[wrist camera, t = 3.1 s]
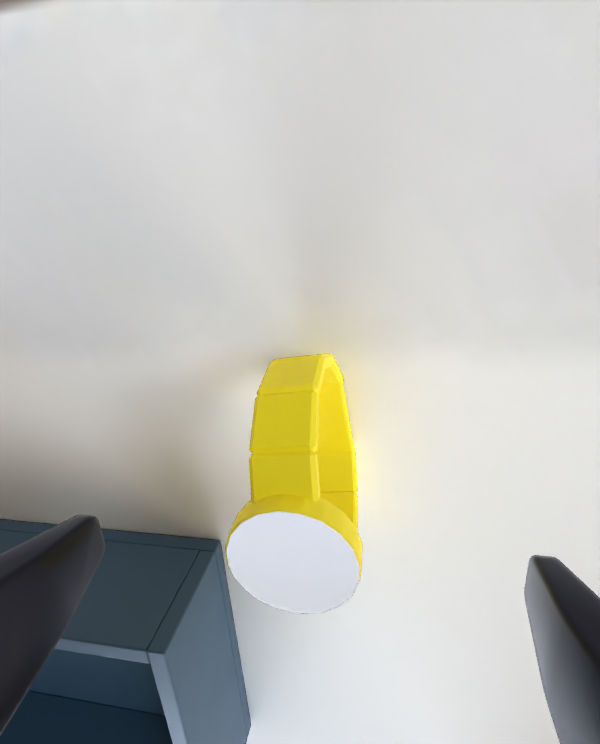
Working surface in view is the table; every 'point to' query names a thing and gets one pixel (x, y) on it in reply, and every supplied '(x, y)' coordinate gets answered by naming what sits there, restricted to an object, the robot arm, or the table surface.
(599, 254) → the table surface
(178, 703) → the organiser tray
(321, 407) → the watch
